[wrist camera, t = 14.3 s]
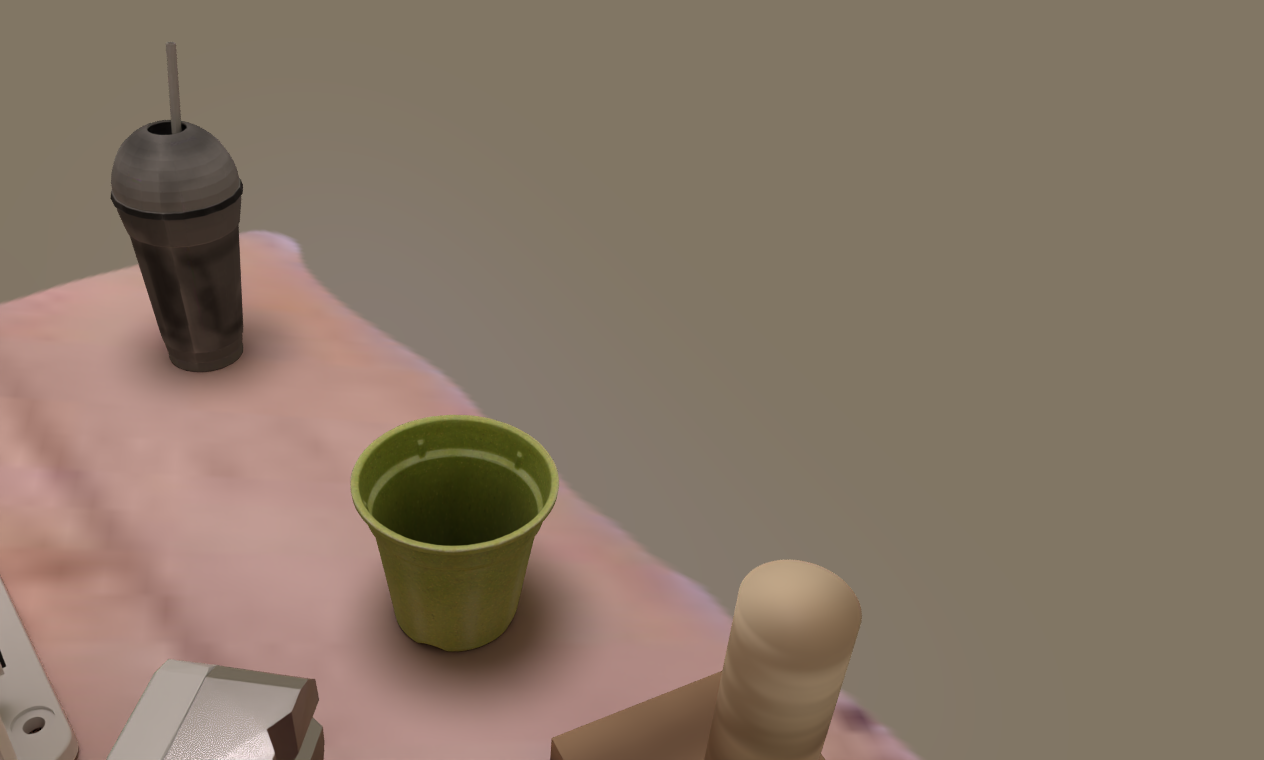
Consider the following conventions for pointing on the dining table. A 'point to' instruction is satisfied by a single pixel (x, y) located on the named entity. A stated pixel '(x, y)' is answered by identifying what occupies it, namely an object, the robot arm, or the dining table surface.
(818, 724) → the peg
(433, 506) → the plant pot
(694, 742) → the brown wooden frame
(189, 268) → the beverage cup
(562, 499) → the dining table surface
